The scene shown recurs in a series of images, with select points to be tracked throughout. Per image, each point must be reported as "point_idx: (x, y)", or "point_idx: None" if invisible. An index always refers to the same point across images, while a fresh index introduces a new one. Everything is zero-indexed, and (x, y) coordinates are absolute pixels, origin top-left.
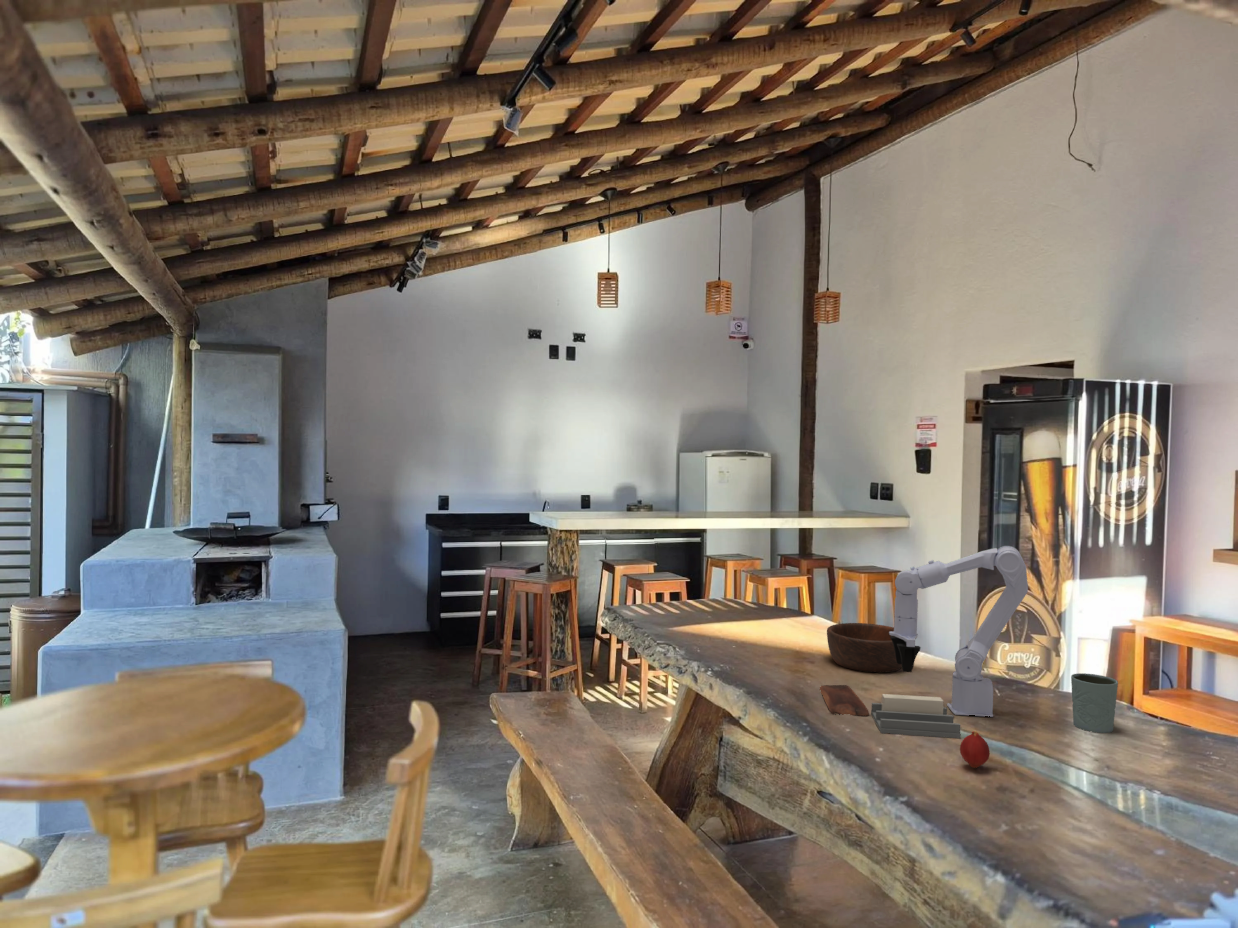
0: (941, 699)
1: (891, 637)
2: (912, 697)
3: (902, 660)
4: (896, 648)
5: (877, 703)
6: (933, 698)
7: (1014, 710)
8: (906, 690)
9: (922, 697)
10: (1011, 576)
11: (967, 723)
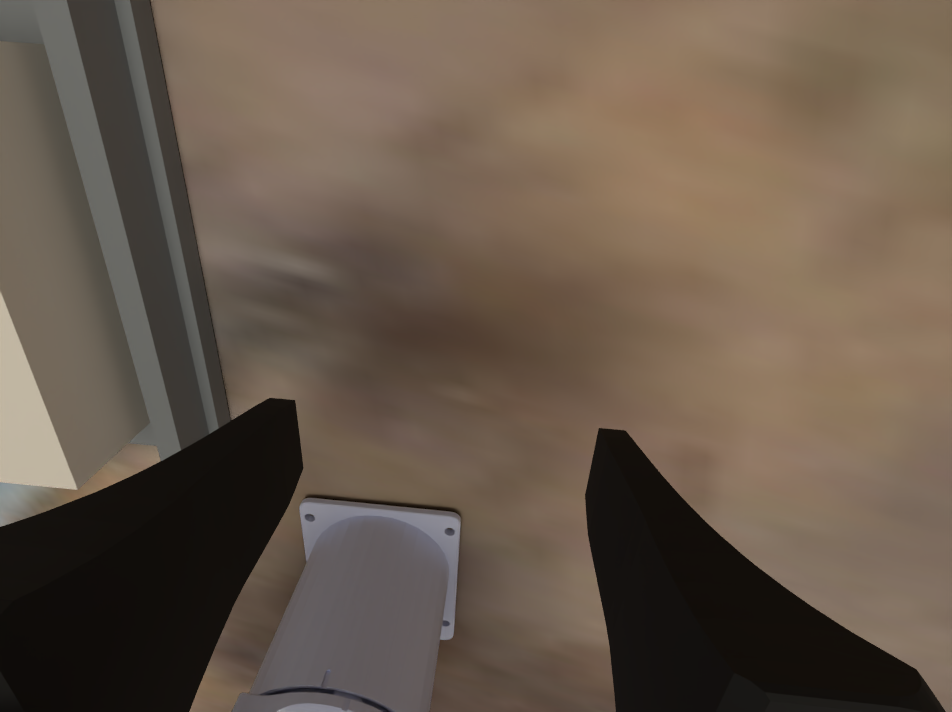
0: (31, 480)
1: (793, 706)
2: None
3: (161, 463)
4: (649, 562)
5: (60, 15)
6: (24, 441)
7: (438, 702)
8: (749, 397)
9: (5, 378)
10: None
11: None
